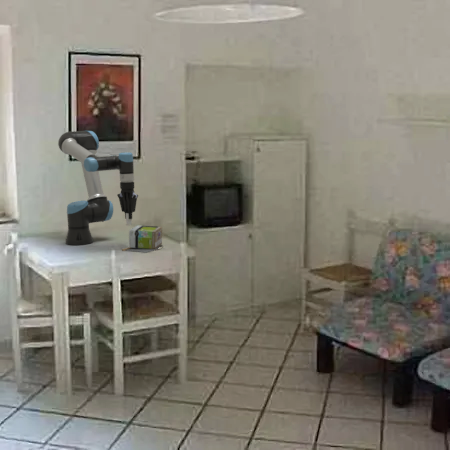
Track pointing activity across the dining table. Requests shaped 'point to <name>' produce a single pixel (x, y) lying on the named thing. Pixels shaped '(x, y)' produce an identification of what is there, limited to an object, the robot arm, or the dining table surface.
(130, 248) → the oak strip
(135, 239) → the tea box
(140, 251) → the mat
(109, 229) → the dining table surface
